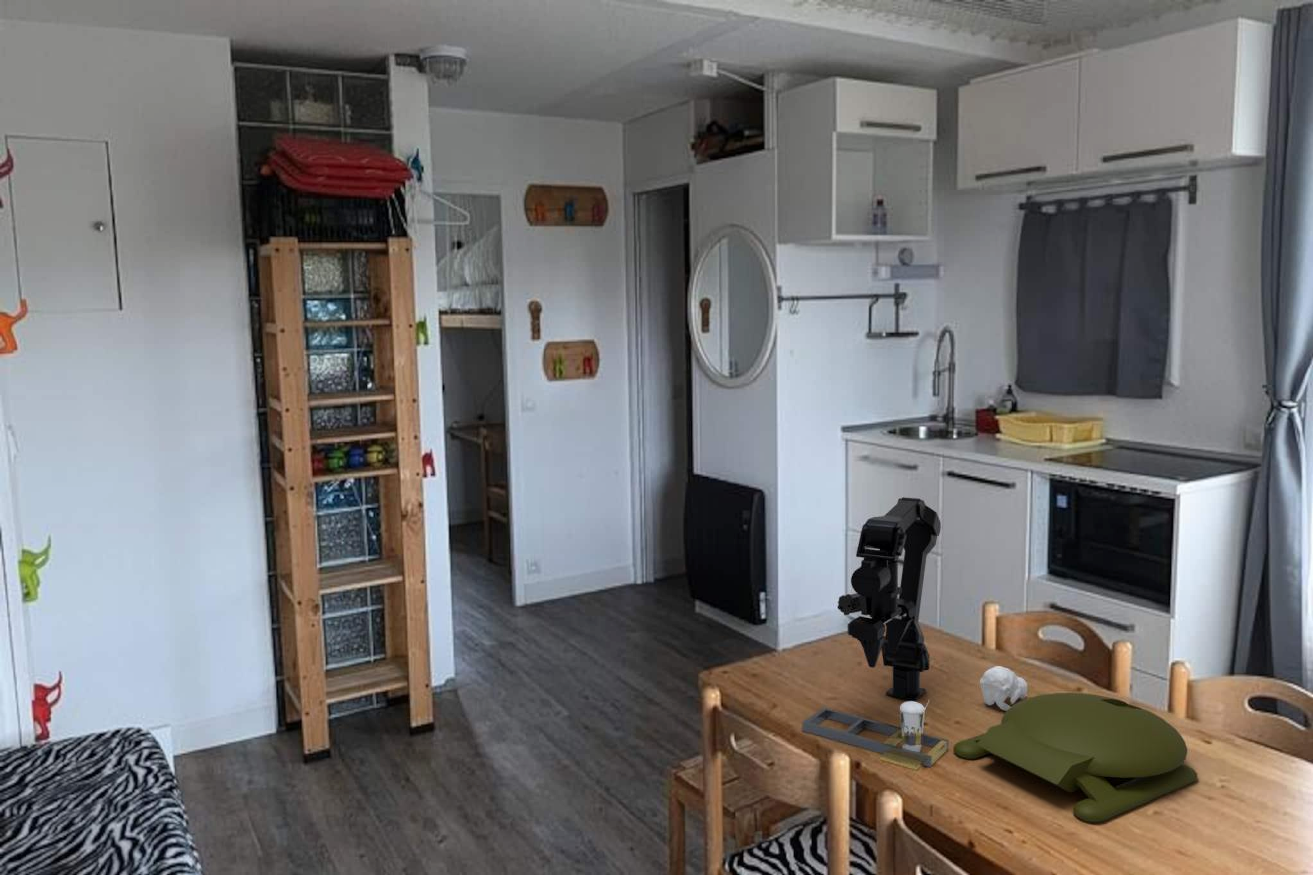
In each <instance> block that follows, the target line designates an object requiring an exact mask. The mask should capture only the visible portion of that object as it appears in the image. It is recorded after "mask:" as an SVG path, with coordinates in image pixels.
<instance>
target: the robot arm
mask: <svg viewBox="0 0 1313 875" xmlns="http://www.w3.org/2000/svg"><path fill="white" fill-rule="evenodd" d="M941 524H942V523H941V520H940V518H939V515H938V513H937V512H936V511H935V510H934V509H932V508H931V507H929V506H927V505H926V503H925V501H924V499H921V498H917V497H905V496H904V497H903V496H902V497H900V498H898V499H897V502H896V504H895V505H894V506H893V507H892V508H890V510H889V511H888V512H887V513H885V514H884V515H881V516H873V517H871V518H868V519H867V520H866V521H865V523H864V524H863V525H862V528H861V531H860V535H859V540H858V546H857V550H856V552H855V553H856V554H855V557H856V558H863V559H862V560H861V562H860V564H861V565H860V566H859V567H858V568H857V569H855V570H854V571H853V573H852V574H851V577H850V584H851V587H852V589H853V590H854V592H855V593H851V594H850V593H848V594H846V595H844V594H842V595H840V596H839V598H838V601H837V604H838V605H837V609H838V610H839V611H840V612H841V613H843V616H848V615H850V614H855V613H859V612H860V614H861V615H863V616H861V615H860V616H857V617H856V618H853V620H851V621H849V623H847V635H848V636H851V637H852V638H853V639H856V640H857V641H859V643H860V645H861V647H862V649H863V653H864V655H865V658H866V661H867V665H868V667H869V668H873V669H874V668H876V666H877V663H878V661H879V657H880V654H881V655H882V662H883V666H884V667H891V669H892V671H891V672H892V673H891V681H892V682H891V683H892V684H891V685H892V686H891V687H890V688H889V689H888V690H886V691H885V695H887V696H891V697H894V698H898V699H899V698H900V699H903V700H907V701H915V702H916V701H917V700H918V699H919V698H920V697H921V696H922V695H923V694H925V693H926V692H927V690H926V689H925V688H922V687H921V673H924V671H929V670H930V662H931V661H930V653H929V652H928V648H927V647H926V645H925V635H924V633H923V631H922V628H921V626H920V624H919V619H920V609H921V604H922V595H923V586H924V578H925V572H926V563H927V556H928V555H929V554H930V552H931V551H932V550H933V549H934V547H935V546H936V545H937V539H938V537H939V536H940V533H941V527H942V526H941ZM903 551H904V555H903ZM902 555H903V564H902V570H901V579H900V584H899V582H898V581H899V558H900V557H902ZM898 585H900V586H898ZM867 616H869V617H867Z"/></svg>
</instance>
